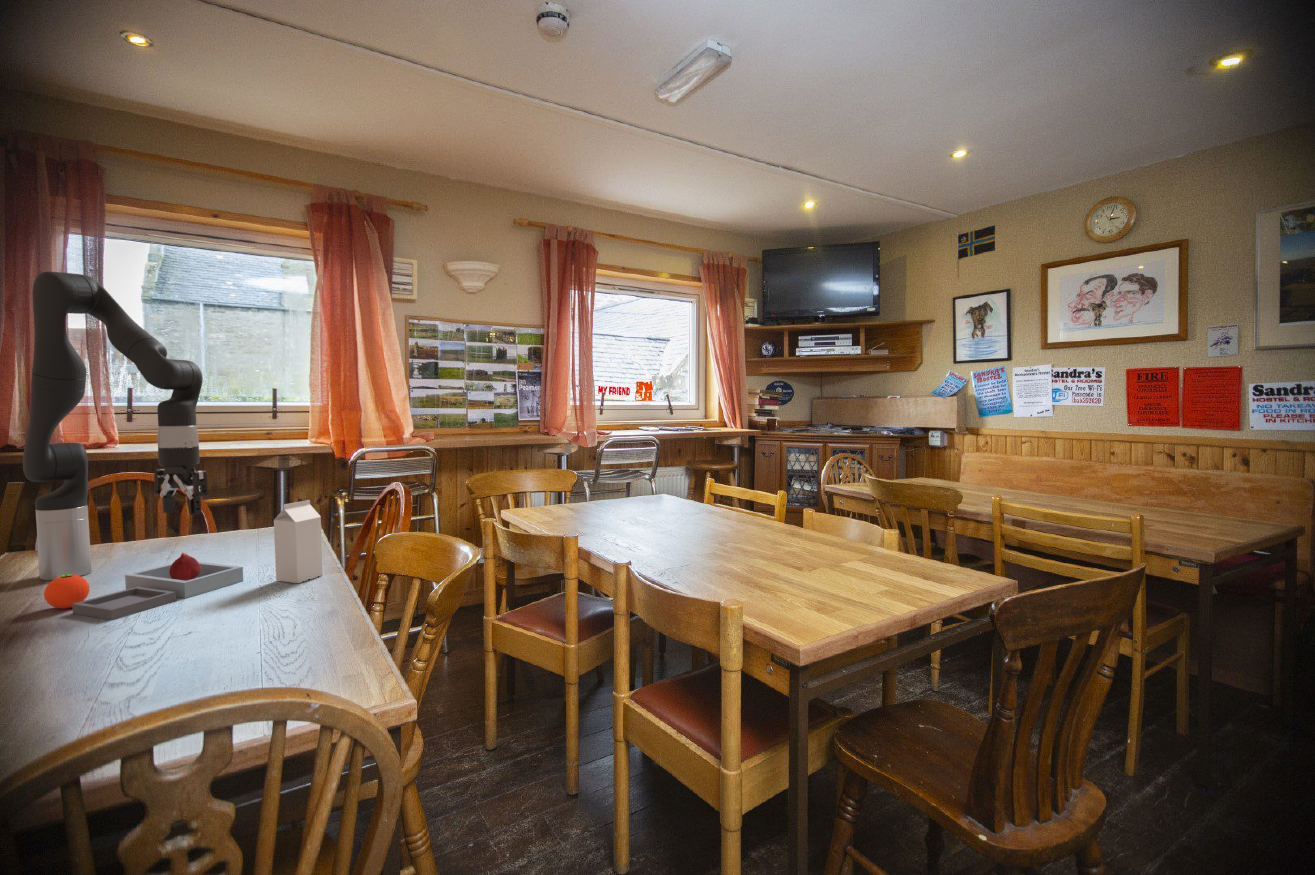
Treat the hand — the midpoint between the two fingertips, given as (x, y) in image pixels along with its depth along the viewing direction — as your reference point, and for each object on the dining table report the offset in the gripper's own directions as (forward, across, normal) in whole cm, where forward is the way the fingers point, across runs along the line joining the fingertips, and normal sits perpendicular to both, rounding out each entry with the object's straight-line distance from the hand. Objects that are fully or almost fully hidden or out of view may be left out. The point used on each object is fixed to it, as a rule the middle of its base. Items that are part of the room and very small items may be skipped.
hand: (182, 513), depth 142 cm
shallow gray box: (+17, 0, 0) cm, 17 cm away
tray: (+17, +3, -14) cm, 23 cm away
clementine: (+17, -8, -18) cm, 27 cm away
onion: (+17, 0, 0) cm, 17 cm away
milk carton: (+18, +21, +12) cm, 30 cm away
